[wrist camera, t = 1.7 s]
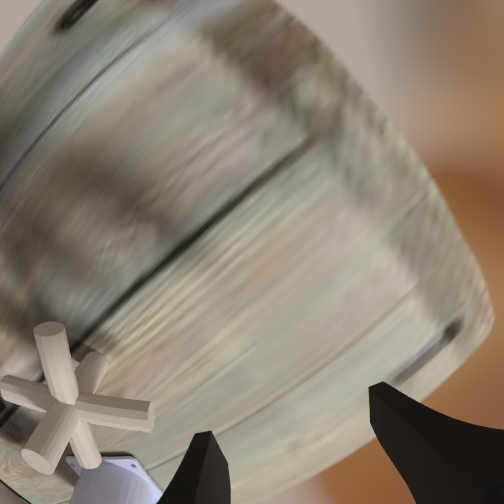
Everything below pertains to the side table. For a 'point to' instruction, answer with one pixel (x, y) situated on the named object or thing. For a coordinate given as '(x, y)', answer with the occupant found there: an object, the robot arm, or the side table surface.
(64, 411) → the pipe connector
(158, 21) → the side table surface
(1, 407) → the duct stub
